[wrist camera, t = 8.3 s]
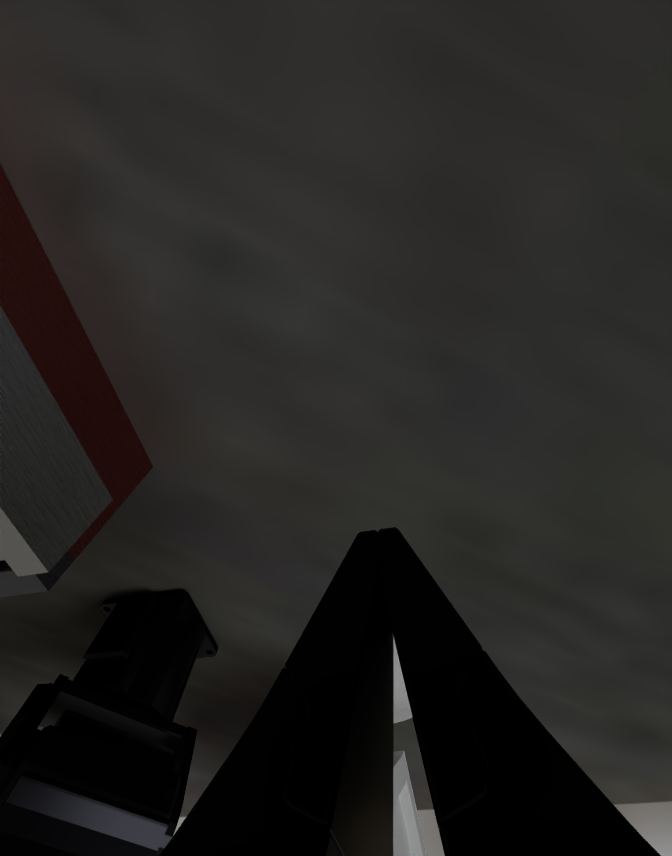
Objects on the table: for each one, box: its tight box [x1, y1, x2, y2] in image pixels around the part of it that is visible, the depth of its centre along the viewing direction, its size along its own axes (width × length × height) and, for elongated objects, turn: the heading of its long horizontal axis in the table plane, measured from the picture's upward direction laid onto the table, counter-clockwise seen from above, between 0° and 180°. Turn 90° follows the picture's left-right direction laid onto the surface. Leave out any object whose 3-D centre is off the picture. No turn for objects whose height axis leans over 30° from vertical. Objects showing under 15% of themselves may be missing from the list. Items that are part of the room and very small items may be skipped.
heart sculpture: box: [393, 637, 426, 856], centre depth 22 cm, size 16×5×18 cm, turn 17°
